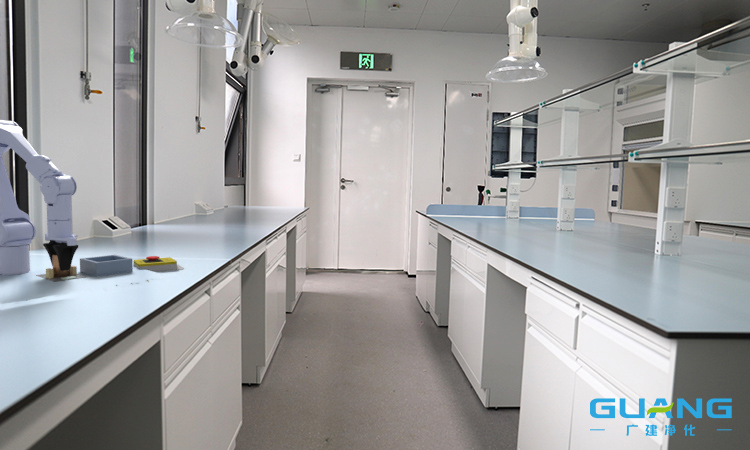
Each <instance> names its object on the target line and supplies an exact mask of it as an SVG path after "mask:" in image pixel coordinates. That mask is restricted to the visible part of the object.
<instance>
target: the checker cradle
mask: <svg viewBox="0 0 750 450" xmlns="http://www.w3.org/2000/svg"><path fill="white" fill-rule="evenodd" d="M77 268H78V267H77V266H76V265H71V267H70V276H69V277H62V278H55V277H53V268H50V267H48V268H45V273H42V274H36V275H35V276H37V277H39V278H42V279H46V280H48V281H51V282H55V283H57V282H65V281H70V280H71V281H72V280H76V279H77V280H79V279H85V278H87V276H85V275H82V274H78V272H77V271H78V269H77Z"/></svg>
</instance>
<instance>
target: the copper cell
mask: <svg viewBox="0 0 750 450" xmlns="http://www.w3.org/2000/svg"><path fill="white" fill-rule="evenodd" d="M52 264H53V266H52V269H53V277H55V278H62V277H69V276H70V270H64V271H61V270H60V267H59V262H58V257H57V254H53V255H52V263H51V265H52Z"/></svg>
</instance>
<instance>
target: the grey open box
mask: <svg viewBox="0 0 750 450" xmlns="http://www.w3.org/2000/svg"><path fill="white" fill-rule="evenodd" d="M133 265H134V264H133V258H131V257H126V256H122V255H119V254H118V255H117V254H110V255H101V256H91V257H83V258H79V272H80V273H84V274H86V275H89V276H93V277H104V276H111V275H117V274H118V275H119V274H124V273H130V272H131V273H132V272H133V268H134V267H133Z"/></svg>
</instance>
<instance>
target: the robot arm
mask: <svg viewBox="0 0 750 450" xmlns="http://www.w3.org/2000/svg"><path fill="white" fill-rule="evenodd" d="M10 149H11V150H12V151H13V152H15V154H16V155H18V156H19V158H20V159H21V158H22V160H23V161H24V162H26V164H25V169H26V171H28V172H29V173H30V175H31V176H33V178H35V180H36V181H37V182H38V183H39V184H40V186H39V188H40V192H41V193H42V195H43V197H44V198H43V199H44V202H45V204H46V226H47V233H45V234H44V240H45V241H46V243H45V242H44V243H42V246H43V247H44V248H45V250H46V252H47V254H48V258H49V260H50V263H51V267H53V264H52V255H53V254H57V257H58V262H59V267H60V270H61V271H64V270H70V267H71V266H72V264H73V259H74V256H75V253H76V251H77V250H78V248H79V244H78V243H77V241H78V239H77V238H78V234H73V233H74V232H73V200H72V199H73V198H72V197H73V196H74V195H75V194H76V192H77V188H78V187H77V182H76V180H75V179H74V178H73V176H71V175H68V174H65V173H62V171H61V169H59V168H58V167H57V166H55V164H54V163H53V162H52V159H51V158H50V157H49V156H46V155H41V154H38V152H37V151H36V150H35V149H34V148H33V146H32V145H31V143H29V141H28V140H27V139H26V138H25V136H24V134H23V129H22V127H21V126H19V124H18V123H17V122H15V121H14V120H3V119H0V275H8V276H9V275H20V274H25V273H30V271H31V263H30V261H31V260H30V257H31V256H30V245H31V244H32V241H34V239H35V237H36V236H37V235H36V234H37V228H36V226H35V224H34V223H33V221H32V220H31V219H30V215H29V214H28V213H26V212H24V211H23V210H21V209H20V208H19V206H18V204H17V199H16V197H15V194H14V191H13V187H12V185H11V181H10V178H9V175H8V171H7V168H6V166H5V162H4V159H3V154H5V153H7V152H9V151H10Z"/></svg>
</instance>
